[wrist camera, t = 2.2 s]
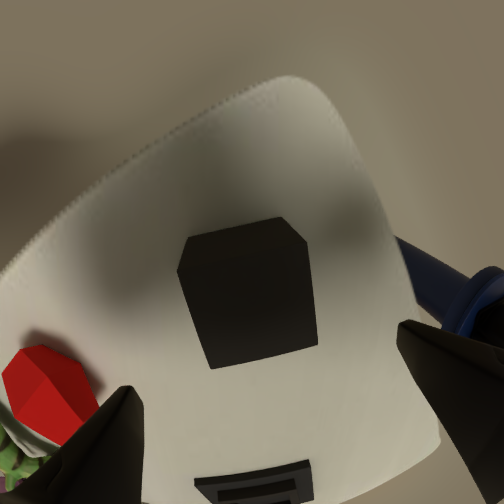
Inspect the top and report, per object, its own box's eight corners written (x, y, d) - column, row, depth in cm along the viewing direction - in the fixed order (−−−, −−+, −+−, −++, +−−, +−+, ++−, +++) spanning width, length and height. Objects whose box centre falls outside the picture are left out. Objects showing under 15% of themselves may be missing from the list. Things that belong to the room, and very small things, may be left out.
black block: (281, 216, 15) (307, 241, 11) (294, 299, 17) (318, 345, 13) (187, 237, 15) (176, 270, 11) (210, 318, 17) (210, 370, 12)
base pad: (308, 459, 23) (314, 478, 21) (312, 494, 27) (316, 508, 25) (194, 478, 23) (194, 497, 20) (224, 510, 27) (225, 524, 24)
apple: (-24, 393, 11) (50, 483, 10) (-6, 333, 11) (83, 444, 10) (30, 372, 18) (94, 441, 17) (58, 320, 18) (132, 398, 17)
